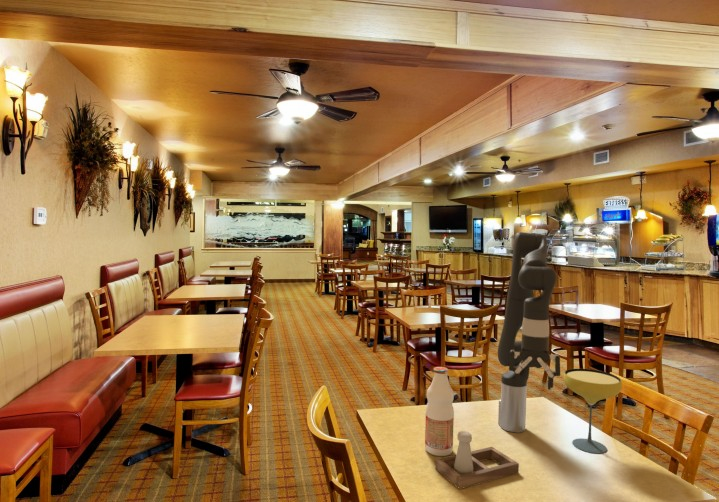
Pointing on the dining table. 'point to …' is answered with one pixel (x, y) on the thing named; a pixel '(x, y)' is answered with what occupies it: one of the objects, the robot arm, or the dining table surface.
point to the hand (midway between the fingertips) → (533, 387)
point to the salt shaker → (464, 454)
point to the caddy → (478, 468)
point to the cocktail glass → (591, 397)
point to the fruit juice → (439, 415)
